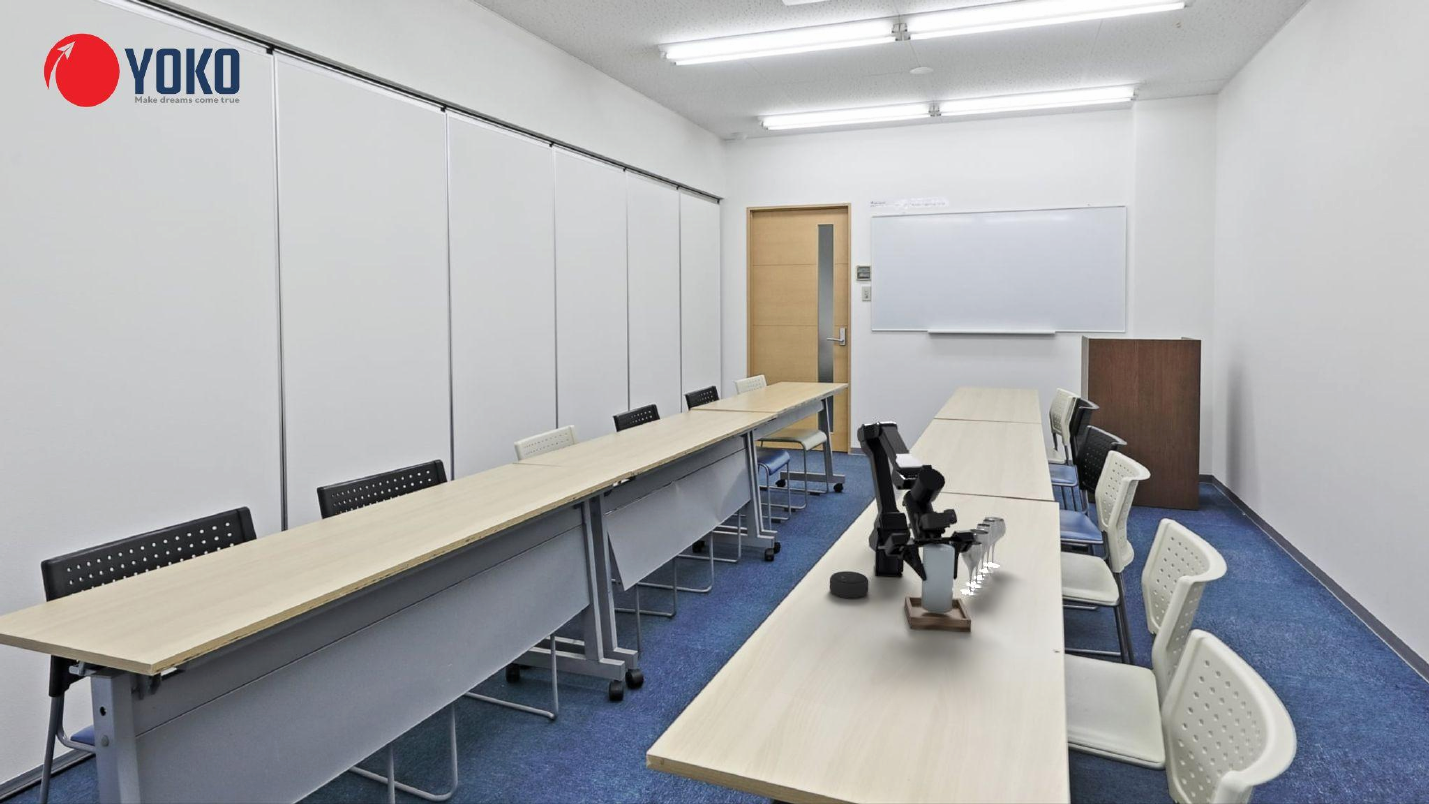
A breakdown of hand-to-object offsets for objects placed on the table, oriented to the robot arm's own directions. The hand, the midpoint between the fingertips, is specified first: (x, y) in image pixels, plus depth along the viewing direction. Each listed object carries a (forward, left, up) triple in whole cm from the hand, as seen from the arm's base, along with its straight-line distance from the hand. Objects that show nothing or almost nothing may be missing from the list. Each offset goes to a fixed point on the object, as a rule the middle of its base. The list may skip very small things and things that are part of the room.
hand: (940, 579), depth 162 cm
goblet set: (+14, +29, -9) cm, 34 cm away
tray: (0, +1, -9) cm, 9 cm away
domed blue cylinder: (0, +1, -7) cm, 7 cm away
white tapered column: (-5, +61, -9) cm, 62 cm away
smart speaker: (-18, +14, -9) cm, 25 cm away
